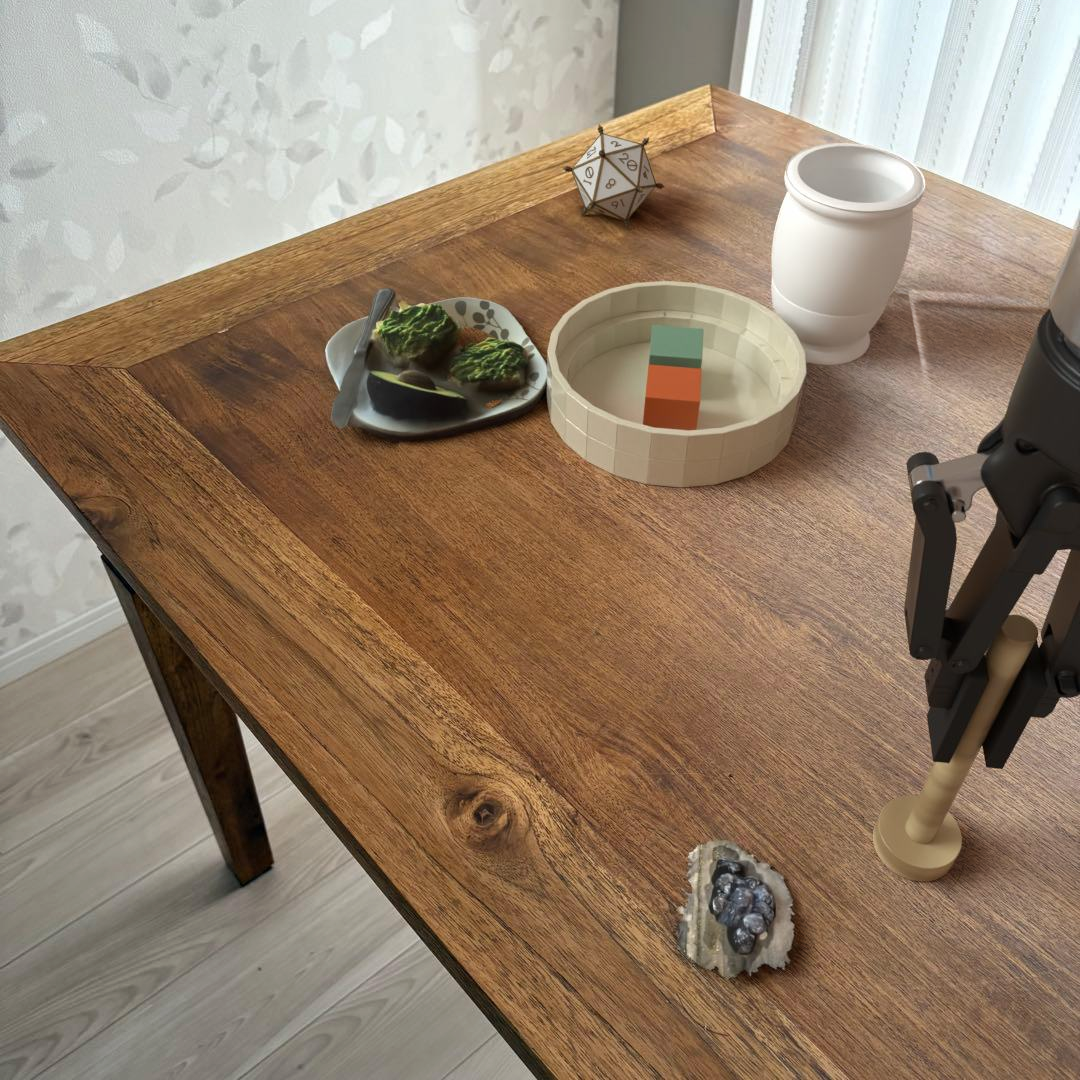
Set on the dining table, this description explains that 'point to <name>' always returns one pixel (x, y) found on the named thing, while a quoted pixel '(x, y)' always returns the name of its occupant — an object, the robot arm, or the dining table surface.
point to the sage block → (676, 346)
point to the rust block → (672, 397)
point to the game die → (614, 176)
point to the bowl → (726, 383)
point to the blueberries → (734, 911)
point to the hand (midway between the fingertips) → (964, 741)
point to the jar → (841, 244)
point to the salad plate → (432, 369)
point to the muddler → (950, 772)
